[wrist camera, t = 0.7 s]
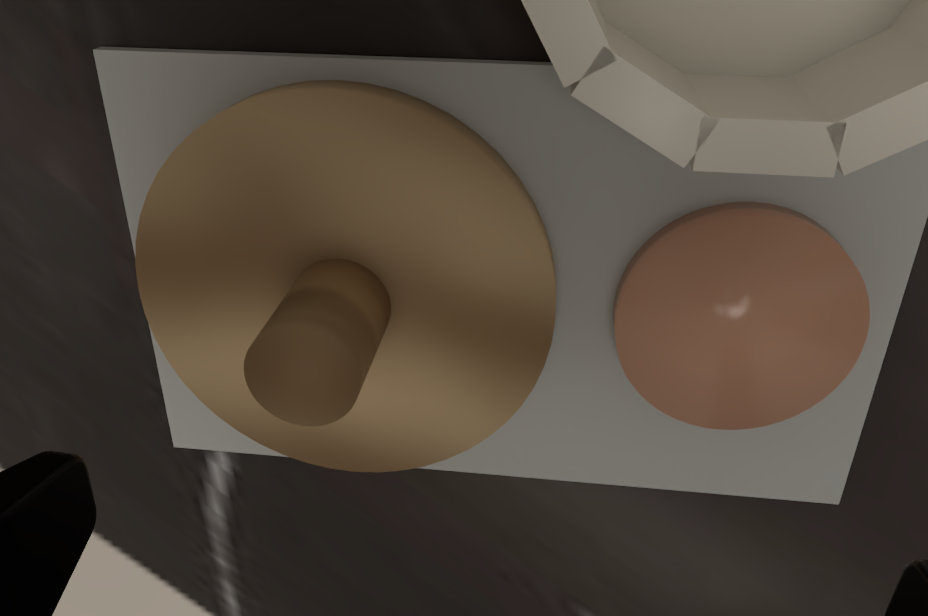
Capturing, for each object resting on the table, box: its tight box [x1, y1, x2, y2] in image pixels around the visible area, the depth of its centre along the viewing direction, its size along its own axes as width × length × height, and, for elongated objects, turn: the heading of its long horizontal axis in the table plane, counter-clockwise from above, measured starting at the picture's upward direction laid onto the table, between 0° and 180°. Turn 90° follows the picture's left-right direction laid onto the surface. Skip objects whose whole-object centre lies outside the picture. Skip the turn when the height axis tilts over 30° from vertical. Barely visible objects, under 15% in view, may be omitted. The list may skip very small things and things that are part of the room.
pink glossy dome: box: [613, 202, 870, 430], centre depth 20 cm, size 6×6×1 cm
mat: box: [93, 47, 928, 504], centre depth 21 cm, size 12×20×1 cm, turn 89°
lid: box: [135, 80, 556, 472], centre depth 19 cm, size 11×11×4 cm
